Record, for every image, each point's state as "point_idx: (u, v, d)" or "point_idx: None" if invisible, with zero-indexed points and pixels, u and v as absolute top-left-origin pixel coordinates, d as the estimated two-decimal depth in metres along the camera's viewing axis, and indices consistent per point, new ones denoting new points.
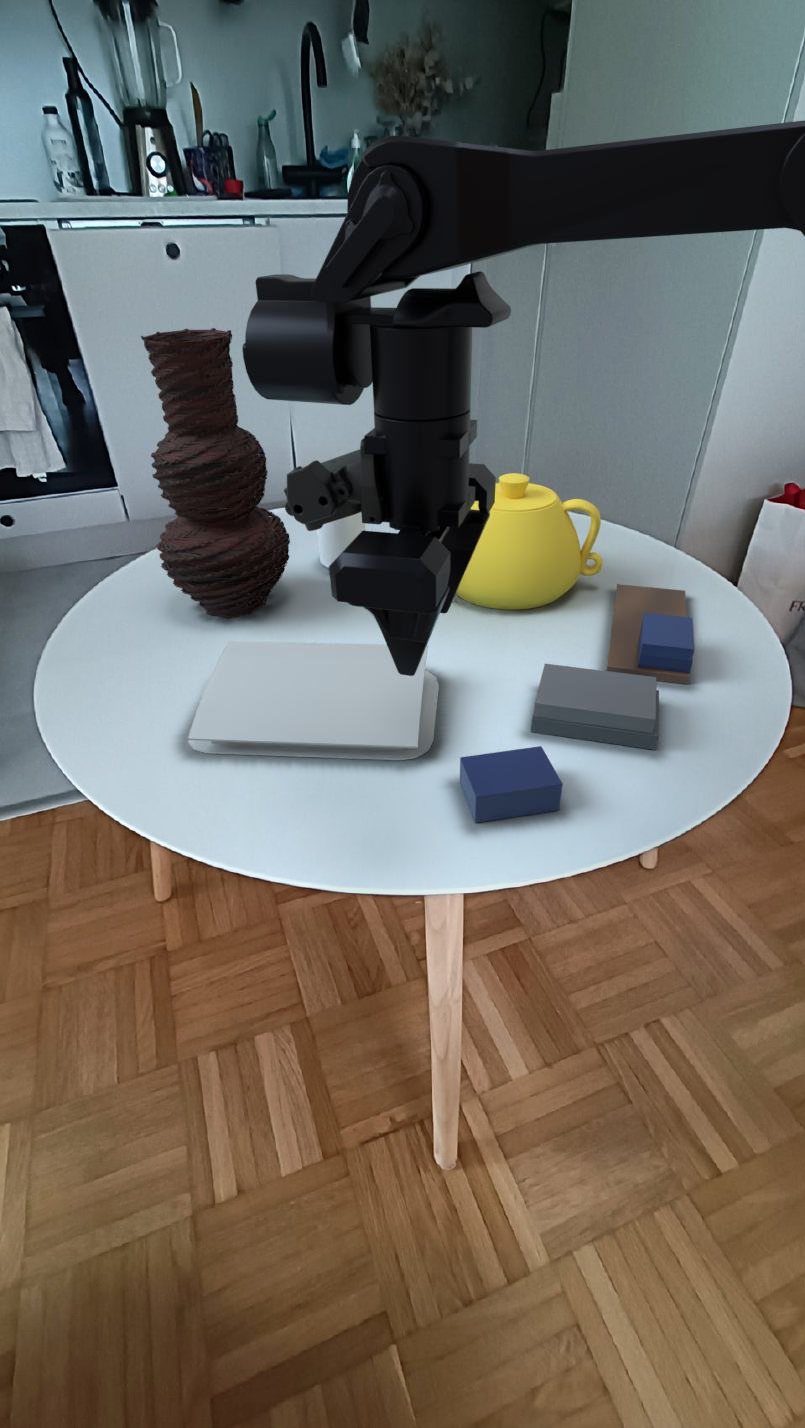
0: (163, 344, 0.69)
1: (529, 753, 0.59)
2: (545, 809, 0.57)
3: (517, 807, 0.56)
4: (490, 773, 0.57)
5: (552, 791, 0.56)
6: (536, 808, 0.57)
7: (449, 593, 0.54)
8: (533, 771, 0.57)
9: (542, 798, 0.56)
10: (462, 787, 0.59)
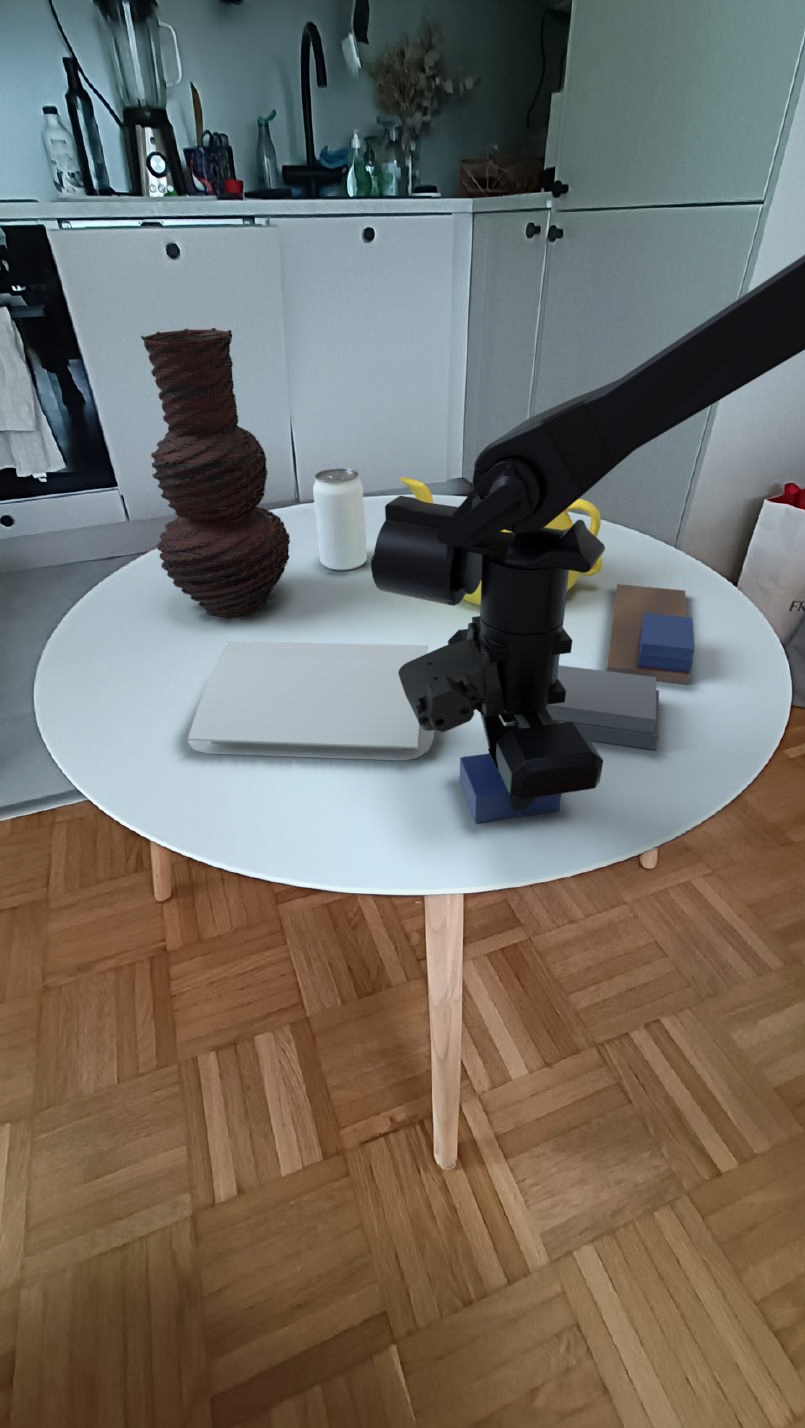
0: (163, 344, 0.69)
1: None
2: (545, 809, 0.57)
3: None
4: (490, 773, 0.57)
5: None
6: (536, 808, 0.57)
7: None
8: None
9: (542, 798, 0.56)
10: (462, 787, 0.59)
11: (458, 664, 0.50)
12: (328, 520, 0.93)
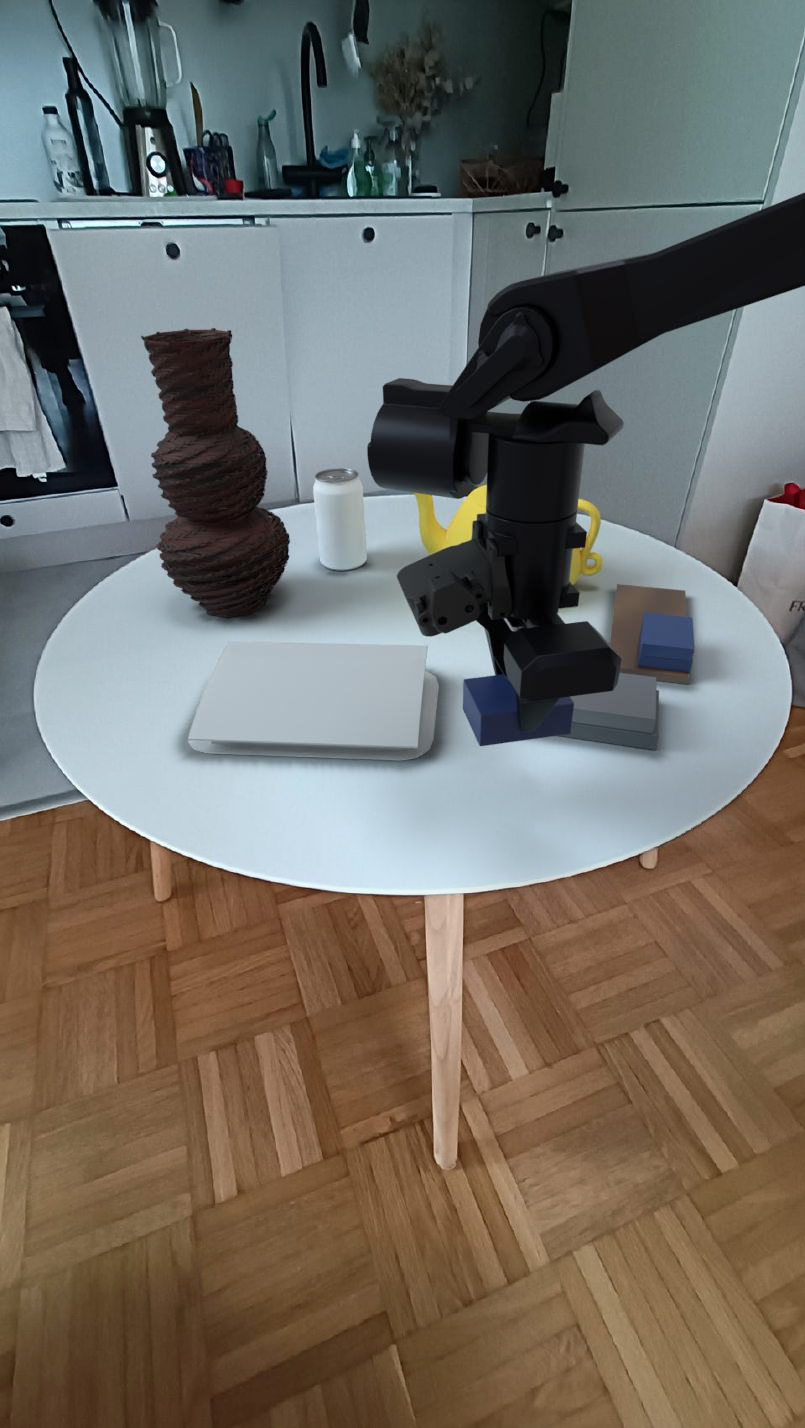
0: (163, 344, 0.69)
1: None
2: (555, 732, 0.53)
3: None
4: (496, 693, 0.53)
5: (563, 711, 0.52)
6: (545, 730, 0.53)
7: None
8: None
9: (552, 719, 0.52)
10: (465, 712, 0.55)
11: (462, 562, 0.46)
12: (328, 520, 0.93)
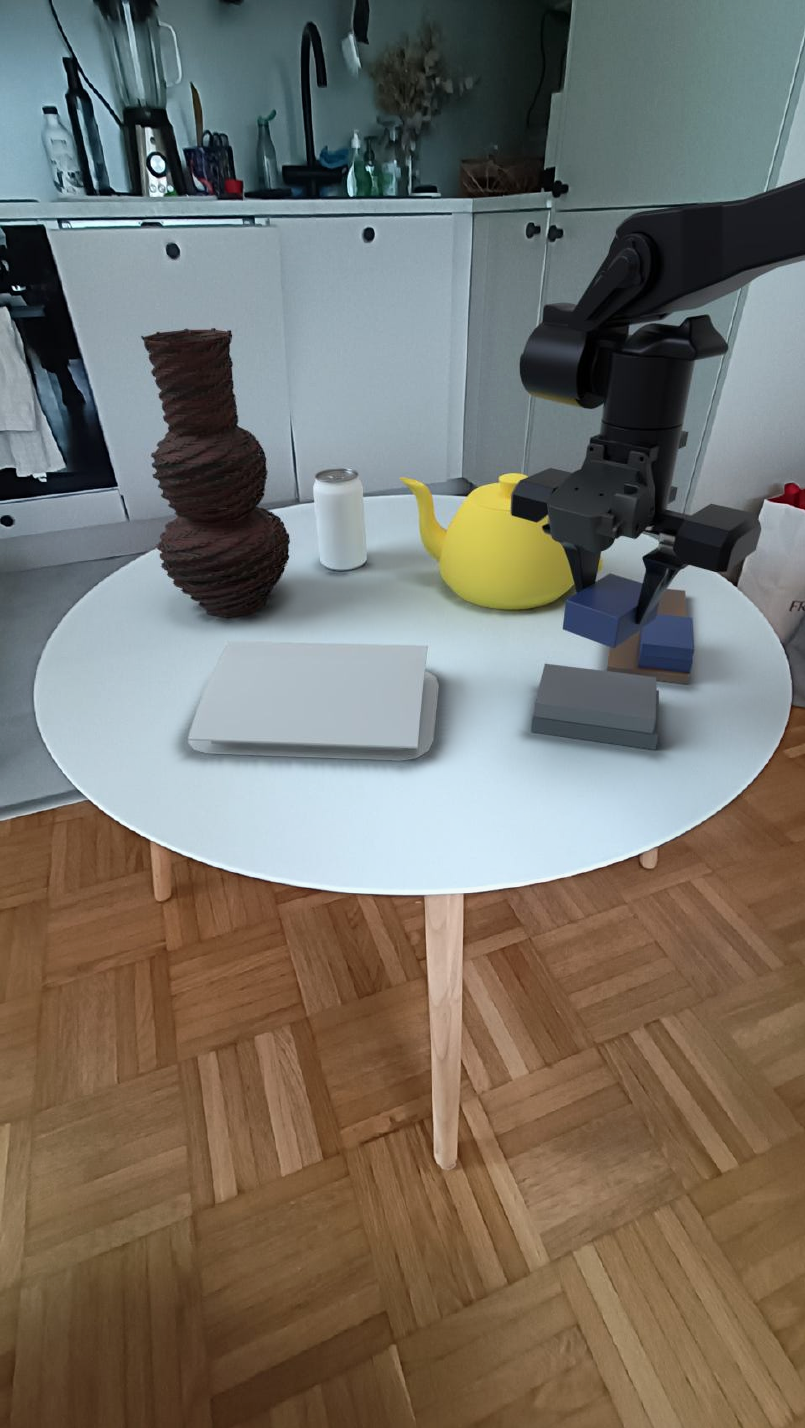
0: (163, 344, 0.69)
1: (609, 580, 0.62)
2: (650, 619, 0.61)
3: None
4: (604, 601, 0.59)
5: None
6: (646, 620, 0.61)
7: None
8: (630, 588, 0.61)
9: None
10: (573, 629, 0.60)
11: (610, 478, 0.51)
12: (328, 520, 0.93)
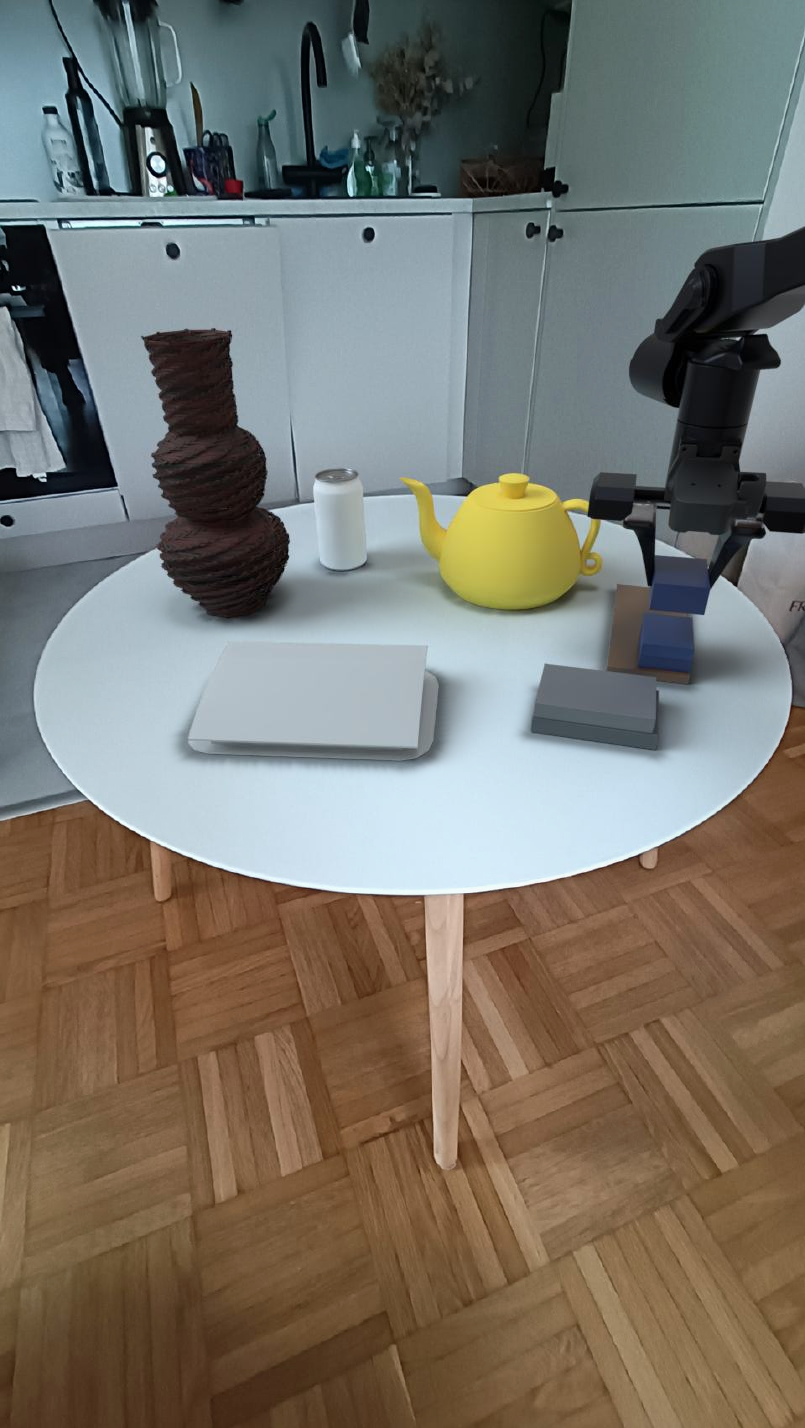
0: (163, 344, 0.69)
1: (662, 560, 0.71)
2: None
3: None
4: (682, 577, 0.68)
5: None
6: None
7: None
8: (686, 563, 0.71)
9: None
10: (661, 607, 0.68)
11: (714, 471, 0.59)
12: (328, 520, 0.93)
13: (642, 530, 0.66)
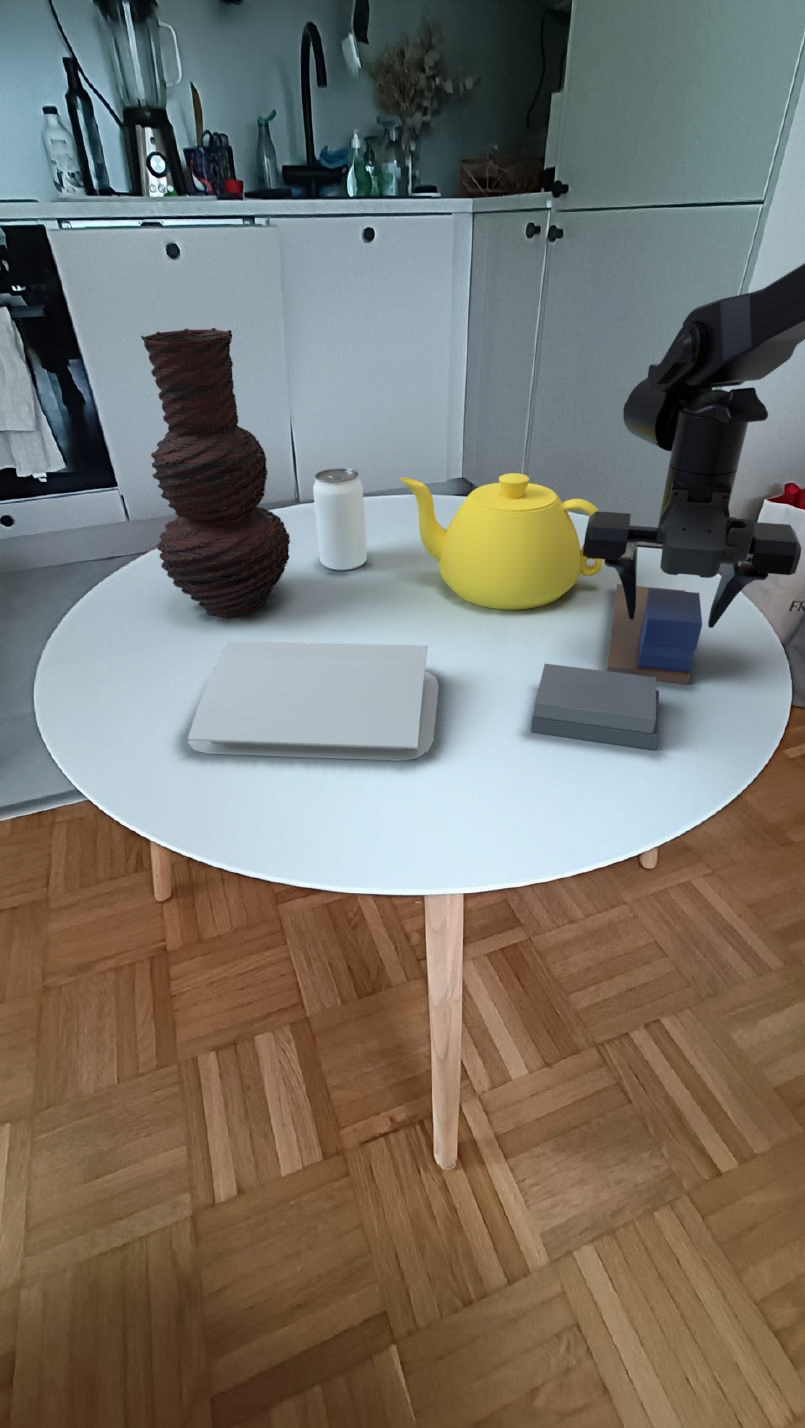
0: (163, 344, 0.69)
1: (656, 594, 0.74)
2: None
3: None
4: (674, 612, 0.70)
5: None
6: None
7: None
8: (679, 597, 0.73)
9: None
10: (654, 641, 0.71)
11: (704, 516, 0.62)
12: (328, 520, 0.93)
13: (623, 568, 0.68)
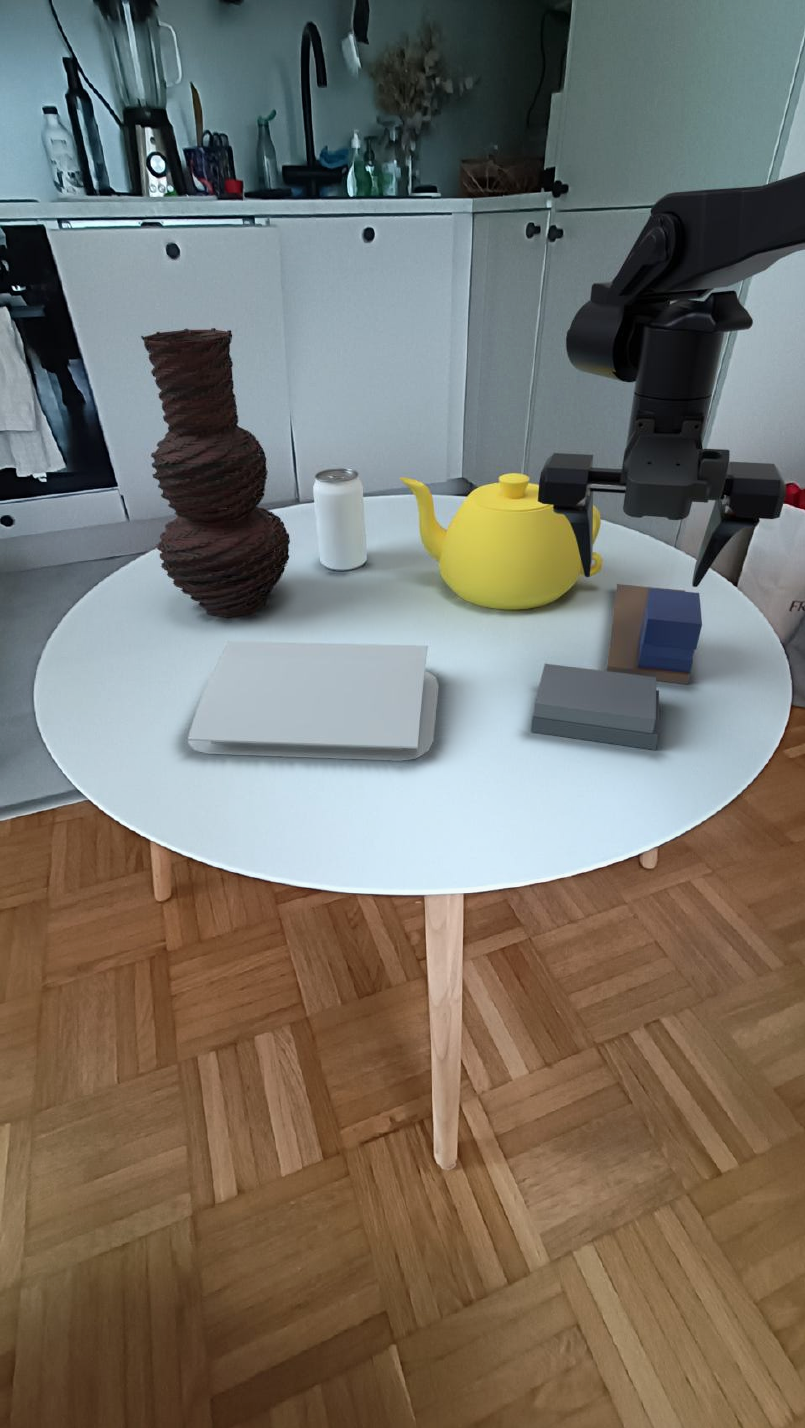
0: (163, 344, 0.69)
1: (656, 594, 0.74)
2: None
3: None
4: (674, 612, 0.70)
5: None
6: None
7: (592, 554, 0.65)
8: (679, 597, 0.73)
9: None
10: (654, 641, 0.71)
11: (673, 449, 0.53)
12: (328, 520, 0.93)
13: (574, 515, 0.60)
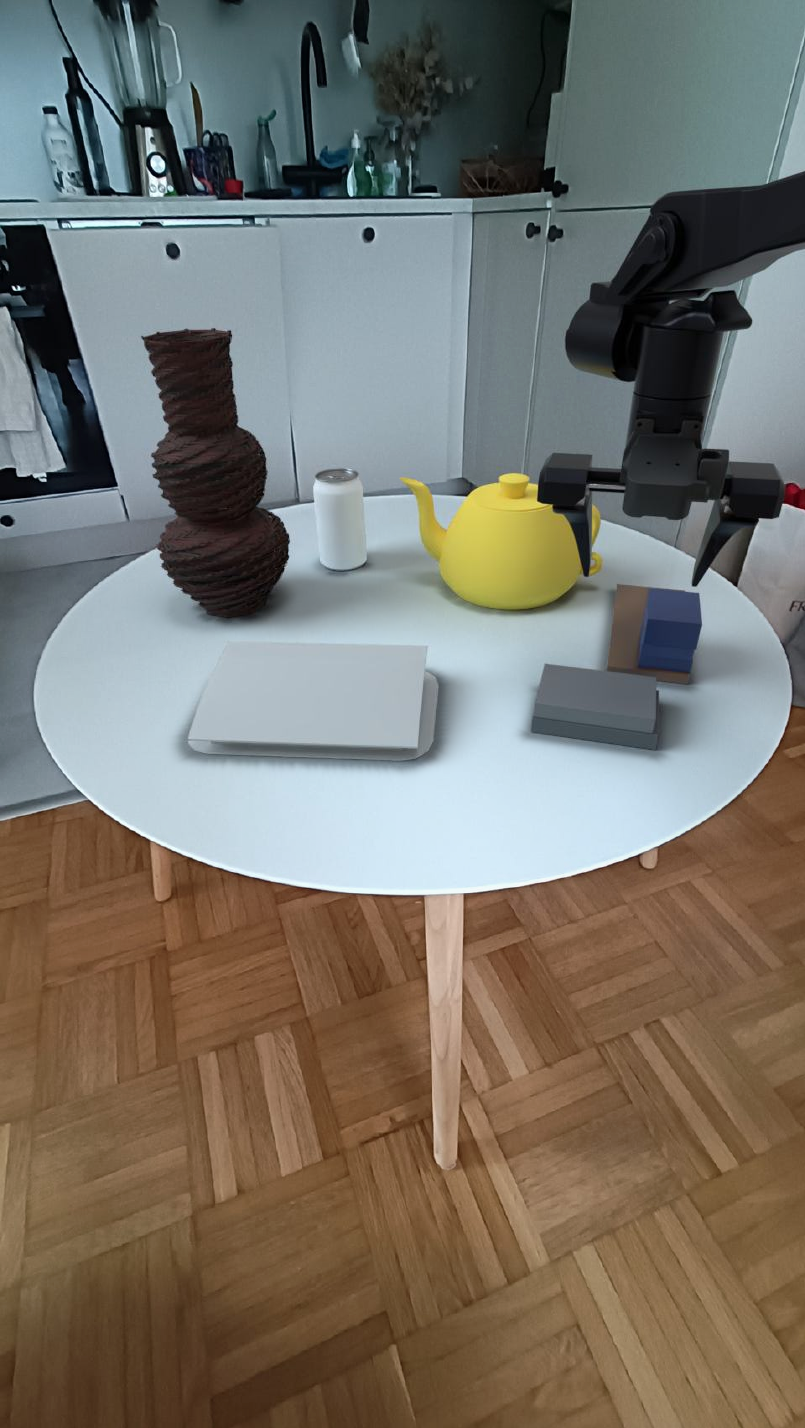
0: (163, 344, 0.69)
1: (656, 594, 0.74)
2: None
3: None
4: (674, 612, 0.70)
5: None
6: None
7: (591, 554, 0.65)
8: (679, 597, 0.73)
9: None
10: (654, 641, 0.71)
11: (672, 448, 0.53)
12: (328, 520, 0.93)
13: (573, 514, 0.60)
